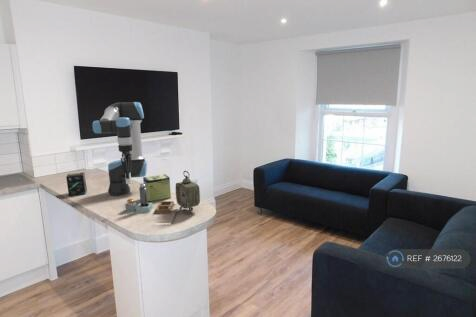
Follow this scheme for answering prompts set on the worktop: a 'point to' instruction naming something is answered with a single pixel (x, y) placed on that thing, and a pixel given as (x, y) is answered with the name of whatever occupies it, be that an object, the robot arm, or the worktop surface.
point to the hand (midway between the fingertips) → (128, 183)
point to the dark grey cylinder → (143, 195)
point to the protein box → (157, 187)
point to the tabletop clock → (187, 193)
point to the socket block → (138, 209)
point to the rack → (164, 207)
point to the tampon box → (76, 184)
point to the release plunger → (130, 201)
